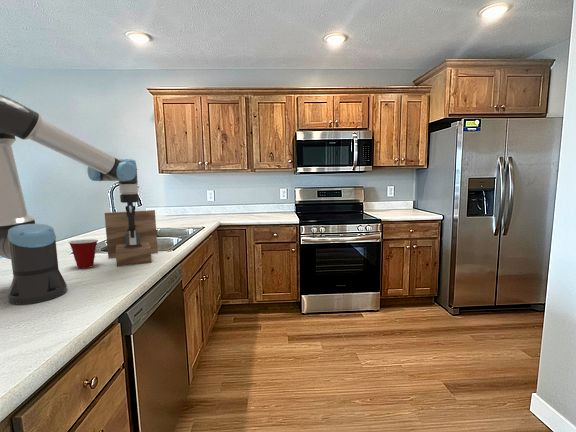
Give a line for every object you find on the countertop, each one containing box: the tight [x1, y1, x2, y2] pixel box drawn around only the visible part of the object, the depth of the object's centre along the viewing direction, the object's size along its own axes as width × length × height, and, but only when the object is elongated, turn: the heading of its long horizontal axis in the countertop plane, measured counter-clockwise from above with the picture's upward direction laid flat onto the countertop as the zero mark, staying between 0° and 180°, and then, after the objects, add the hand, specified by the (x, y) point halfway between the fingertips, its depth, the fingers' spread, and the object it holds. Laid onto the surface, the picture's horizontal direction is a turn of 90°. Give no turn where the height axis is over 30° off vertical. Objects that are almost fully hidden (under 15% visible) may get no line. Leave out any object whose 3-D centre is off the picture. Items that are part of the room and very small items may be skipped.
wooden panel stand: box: [104, 209, 158, 268], centre depth 145 cm, size 20×22×22 cm
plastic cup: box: [68, 238, 99, 270], centre depth 134 cm, size 11×11×12 cm
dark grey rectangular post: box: [125, 233, 141, 248], centre depth 143 cm, size 3×6×12 cm, turn 117°
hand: (132, 242), depth 143 cm, fingers open, 7 cm apart
